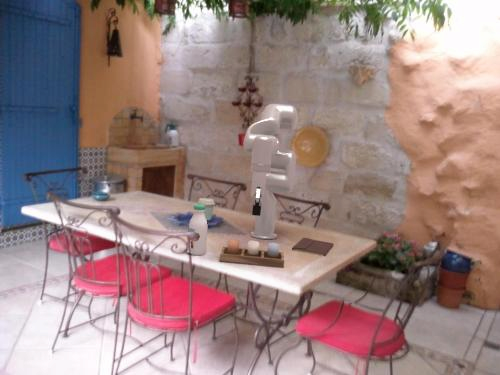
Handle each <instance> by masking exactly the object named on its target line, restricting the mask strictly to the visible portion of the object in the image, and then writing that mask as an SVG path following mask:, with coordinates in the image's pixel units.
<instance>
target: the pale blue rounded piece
mask: <svg viewBox="0 0 500 375" xmlns="http://www.w3.org/2000/svg"><path fill="white" fill-rule="evenodd" d="M279 250H280V244H279V243H277V242H268V244H267V251H268V252H267V255H269V256H273V257H276V256H278V253H279V252H280V251H279Z"/></svg>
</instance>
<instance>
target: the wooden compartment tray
mask: <svg viewBox="0 0 500 375" xmlns="http://www.w3.org/2000/svg"><path fill="white" fill-rule="evenodd" d="M227 250H228V246H223V247H222V249H221V251H220V255H219V262H220V263H226V264H227V263H228V264H239V265H240V264H241V265H249V266H259V267H268V268H269V267H270V268H279V269H284V268H285V266H284V265H285V253H284V252H283V251H279V253H278V256H276V257H273V256H269V255H267V252H268V250H264V249H263V250H262V249H261V250H260V249H259V251H258V254H256V255H252V254H248V253H247V251H248V248H240V247H239V250H238V252H236V253H232V252H228V251H227Z"/></svg>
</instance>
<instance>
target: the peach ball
mask: <svg viewBox="0 0 500 375" xmlns="http://www.w3.org/2000/svg"><path fill="white" fill-rule="evenodd" d="M227 247H228V250H227V251H228V252H232V253H236V252H238V250H239V248H240V240H239V239H237V238H228V239H227Z"/></svg>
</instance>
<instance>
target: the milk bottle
mask: <svg viewBox="0 0 500 375" xmlns="http://www.w3.org/2000/svg"><path fill="white" fill-rule="evenodd" d="M204 211H205V205H202V204H199V203H196V204H194V205H193V214H192V217H191V218H190V219H189V224H188V229H187V233H188V232H196V233H199V235H200V238H199V240H198V241H196V242H193V241H191V242H190V243H191V254H192V256H203V255H205V254H206V252H207V241H208V229H209V228H208V224H207V220H206V218H205V214H204ZM191 254H190V255H191Z"/></svg>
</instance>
